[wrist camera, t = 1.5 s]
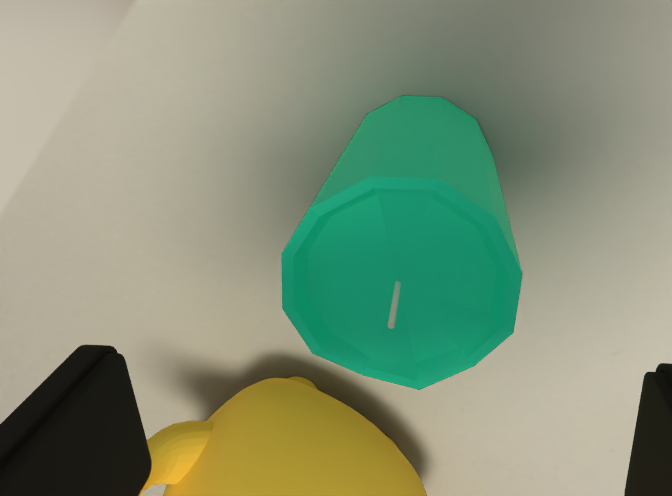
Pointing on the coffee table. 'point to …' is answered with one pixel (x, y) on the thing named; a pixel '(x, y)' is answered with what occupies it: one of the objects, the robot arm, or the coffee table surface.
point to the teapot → (280, 449)
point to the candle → (406, 249)
